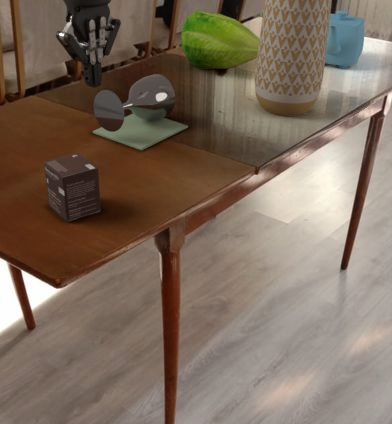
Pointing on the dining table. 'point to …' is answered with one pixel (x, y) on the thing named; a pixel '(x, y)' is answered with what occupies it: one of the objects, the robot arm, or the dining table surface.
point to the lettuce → (217, 41)
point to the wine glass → (136, 102)
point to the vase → (291, 55)
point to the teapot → (344, 39)
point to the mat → (142, 131)
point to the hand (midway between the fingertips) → (93, 85)
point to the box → (72, 186)
